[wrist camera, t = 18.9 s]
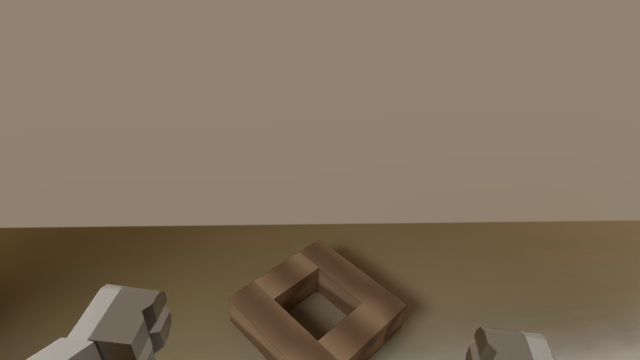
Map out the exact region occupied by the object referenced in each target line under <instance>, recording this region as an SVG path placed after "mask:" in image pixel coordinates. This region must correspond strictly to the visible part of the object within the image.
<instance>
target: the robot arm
mask: <svg viewBox="0 0 640 360" xmlns="http://www.w3.org/2000/svg"><path fill="white" fill-rule="evenodd" d="M166 301H167V298H166V294H165V292H163V291H156V290H149V289H142V288H134V287H127V286H120V285H111V284H106V285H105V286H103V287H102V288H101V289H100V290H99V291H98V293H97V294H96V296H95V297H94V299H93V300H92V302H91V303H90V305H89V306H88V308H87V309H86V311H85V312H84V313H83V315H82V316H81V318H80V319H79V321H78V322H77V324H76V325H75V327H74V328H73V330H72V331H71V333H70V334H69V335H68V337H67V338H62V337H61V338H59V339H58V340H56V341H55V342H53V343H52V344H50V345H48V346H47V347H45V348H44V349H42V350H41V351H39V352H37V353H36V354H34V355H33V356H31V357H29V358H28V359H26V360H156V358H155V353H156V352H158V351H159V350H160V349H162V348H163V347H164V345H165V343H166V341H167V338H168V336H169V331H170V327H171V314H170V311H169V310H168V309H167V308H166V307H165V303H166ZM474 336H475V340H476V343H474V344H472V345H470V346H469V349H468V351H467V354H466V360H554V357H553V355H552V352H551V350H550V348H549V345H548V343H547V340H546V338H545V337H544V336H543V335H542V334H539V333H530V332H520V331H517V330H507V329H497V328H486V327H480V328H478V329H477V331H476V333H475V335H474Z"/></svg>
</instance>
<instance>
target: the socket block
mask: <svg viewBox="0 0 640 360" xmlns="http://www.w3.org/2000/svg"><path fill="white" fill-rule="evenodd" d="M316 290H318V291H319V292H320V293H321V294H322V295H324V296H325V297H326V298H327V299H328V300H329V301H331V302H332V303H333V304H334V305H335V306H337V307H338V308H339V309H340V310H341V311H342V312H344V313H345V314H346V315H347V317H346V318H345V319H343V320H342V321H341V322H340V323H339V324H337V325H336V326H335V327H334V328H333V329H331V330H330V331H329V332H328V333H327V334H326V335H324V336H323V337H322V338H321V339H320V340H318V341H317V340H316V339H315V338H314V337H313V336H312V335H311V334H310V333H309V332H308V331H307V330H306V329H305V328H303V327H302V326H301V325H300V324H299V323H298V322H297V321H296V320H295V319H294V318H293V317H292V316H291V315H290V314H289V313H288V311H289V310H290V309H292V308H293V307H294V306H296V305H297V304H299V303H300V302H301V301H303V300H304V299H305V298H307V297H308V296H309V295H311V294H312V293H313V292H315V291H316ZM228 298H229V308H230V317H231V321H232V322H233V323H234V324H235V325H236V326H237V327H238V328H239V329H240V331H241V332H242V333H243V334H244V335H245V336H246V337H247V338H248V339H249V340H250V341H251V342H252V344H253V345H254V346H255V347H256V348H257V349H258V350H259V351H260V352H261V353H262V354H263V355H264V357H265V358H266V359H267V360H368V359H369V358H370V357H371V356H372V355H373V354H374V353H375V352H376V351H377V350H378V349H379V348H380V347H381V346H382V345H383V344H384V343H385V342H386V341H387V340H388V339H389V338H390V337H391V336H392V335H393V334H394V333H395V332H396V331H397V330H398V329H400V328H401V325H402V322H403V318H404V314H405V311H406V307H407V305H406V304H405V303H404V302H402V301H401V300H400V299H398V298H397V297H396V296H394V295H393V294H392V293H390V292H389V291H388V290H386V289H385V288H384V287H382V286H381V285H380V284H378V283H377V282H376V281H374V280H373V279H372V278H370V277H369V276H368V275H366V274H365V273H363V272H362V271H361V270H359V269H358V268H357V267H355V266H354V265H353V264H351V263H350V262H349V261H347V260H346V259H345V258H343V257H342V256H341V255H339V254H338V253H337V252H335V251H334V250H333V249H331V248H330V247H329V246H327V245H326V244H325V243H323V242H322V241H320V240H317V241H316V242H314V243H313V244H311V245H309V246H308V247H306V248H305V249H303V250H302V251H300V252H299V253H297V254H295V255H294V256H292V257H291V258H289V259H288V260H286V261H284V262H283V263H281V264H280V265H278V266H277V267H275V268H274V269H272V270H270V271H269V272H267V273H266V274H264V275H263V276H261V277H259V278H258V279H256V280H255V281H253V282H252V283H250V284H248V285H247V286H245V287H244V288H242V289H241V290H239V291H238V292H236V293H234V294H233V295H231V296H230V297H228Z"/></svg>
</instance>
